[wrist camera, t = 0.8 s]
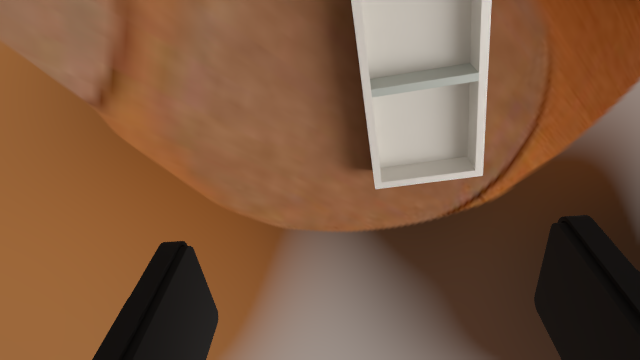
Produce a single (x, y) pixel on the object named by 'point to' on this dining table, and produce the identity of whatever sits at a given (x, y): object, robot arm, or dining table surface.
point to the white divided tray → (424, 87)
